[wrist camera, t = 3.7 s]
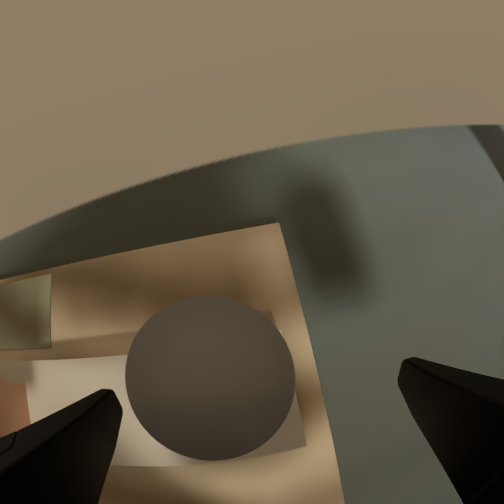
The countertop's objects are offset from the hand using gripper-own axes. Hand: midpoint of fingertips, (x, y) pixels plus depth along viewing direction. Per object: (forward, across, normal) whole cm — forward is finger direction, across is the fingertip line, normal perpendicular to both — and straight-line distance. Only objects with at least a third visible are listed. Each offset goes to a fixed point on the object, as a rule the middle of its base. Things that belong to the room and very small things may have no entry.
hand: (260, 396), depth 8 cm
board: (+5, -9, -6) cm, 12 cm away
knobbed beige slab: (+4, -8, -5) cm, 11 cm away
